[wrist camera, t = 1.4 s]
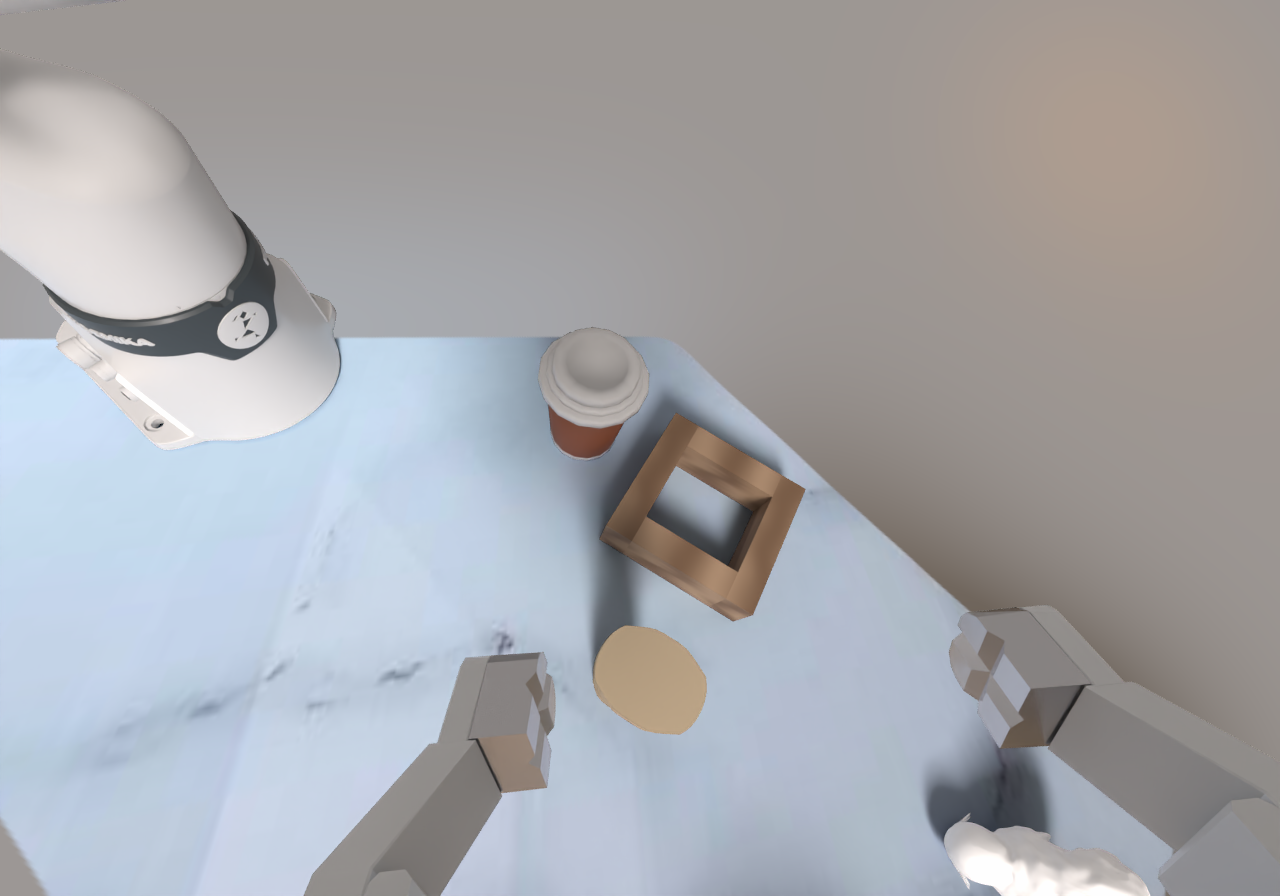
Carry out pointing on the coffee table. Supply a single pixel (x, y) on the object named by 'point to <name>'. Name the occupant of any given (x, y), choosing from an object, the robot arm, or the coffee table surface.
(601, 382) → the coffee cup
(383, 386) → the coffee table surface
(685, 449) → the socket block
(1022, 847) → the white lumpy rounded piece
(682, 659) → the handle
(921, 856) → the coffee table surface
